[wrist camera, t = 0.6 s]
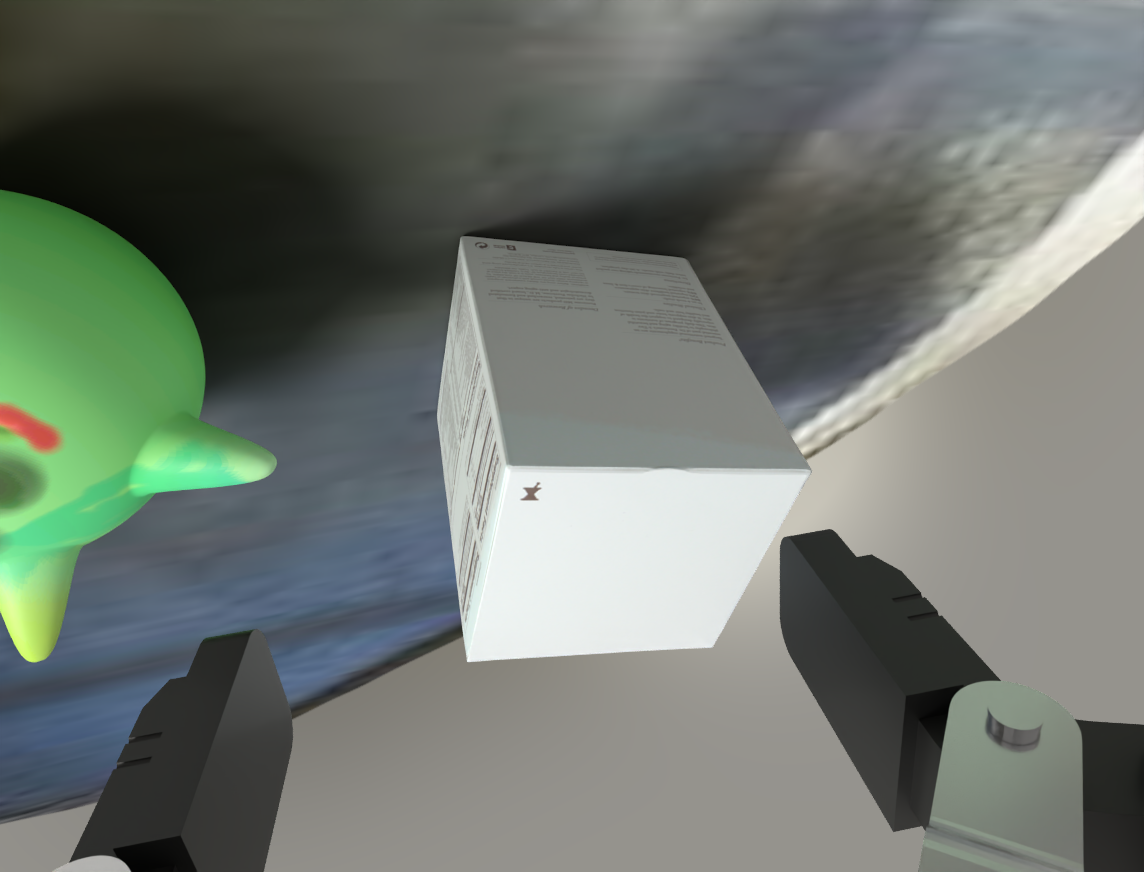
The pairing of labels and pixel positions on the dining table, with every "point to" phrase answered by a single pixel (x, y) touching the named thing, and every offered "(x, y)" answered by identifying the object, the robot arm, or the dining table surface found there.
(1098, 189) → the dining table surface
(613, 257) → the supplement box
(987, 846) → the robot arm
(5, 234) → the toy bird
